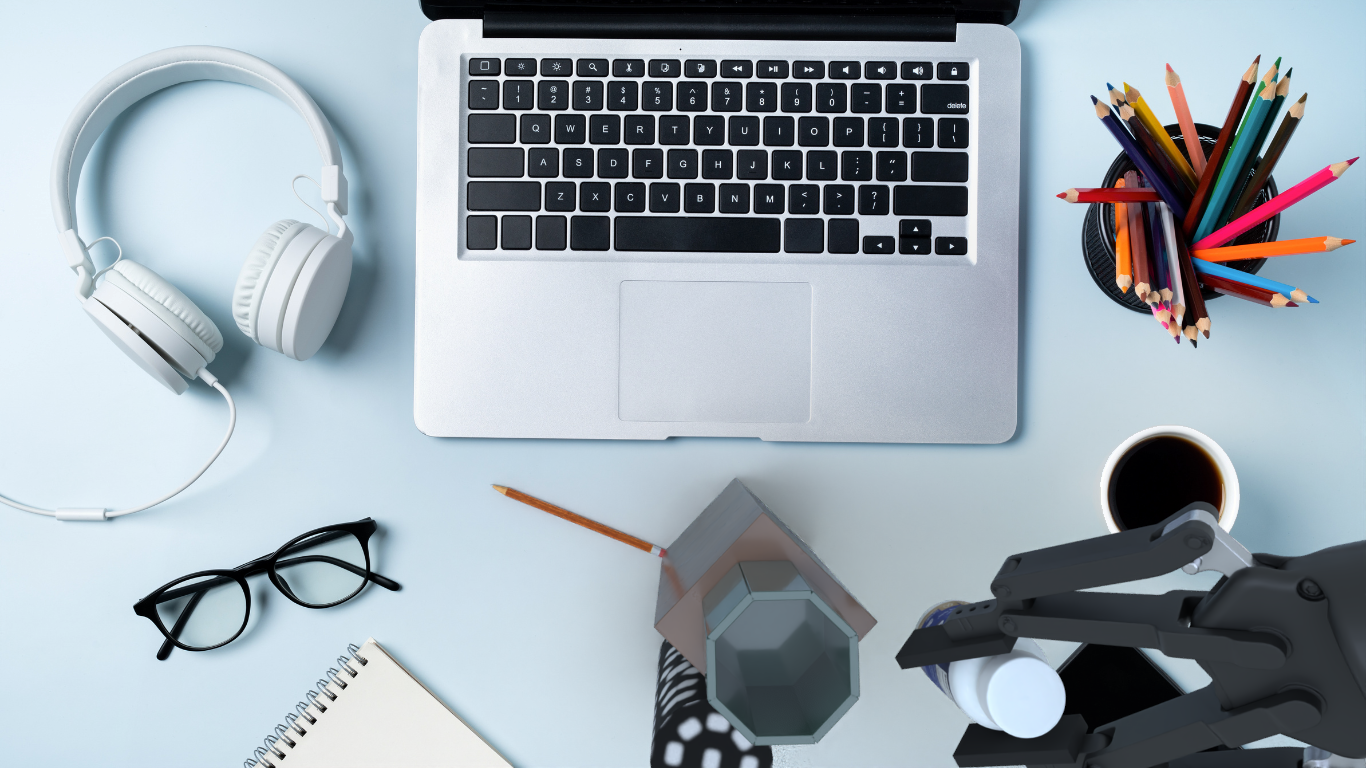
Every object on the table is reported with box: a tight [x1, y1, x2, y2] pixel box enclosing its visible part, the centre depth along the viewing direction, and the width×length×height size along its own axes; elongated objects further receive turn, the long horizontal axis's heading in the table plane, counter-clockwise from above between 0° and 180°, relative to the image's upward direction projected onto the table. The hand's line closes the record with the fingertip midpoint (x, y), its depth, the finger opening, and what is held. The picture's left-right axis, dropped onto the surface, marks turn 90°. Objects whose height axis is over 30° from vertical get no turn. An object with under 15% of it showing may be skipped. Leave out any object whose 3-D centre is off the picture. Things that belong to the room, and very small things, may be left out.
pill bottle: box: [914, 599, 1067, 738], centre depth 43 cm, size 5×5×10 cm
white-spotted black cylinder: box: [649, 638, 774, 768], centre depth 62 cm, size 8×8×20 cm
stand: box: [653, 477, 879, 676], centre depth 60 cm, size 10×10×24 cm
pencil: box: [489, 484, 667, 559], centre depth 72 cm, size 1×18×1 cm, turn 68°
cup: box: [702, 560, 861, 746], centre depth 44 cm, size 8×8×8 cm
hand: (936, 697), depth 43 cm, fingers closed on pill bottle, 5 cm apart
